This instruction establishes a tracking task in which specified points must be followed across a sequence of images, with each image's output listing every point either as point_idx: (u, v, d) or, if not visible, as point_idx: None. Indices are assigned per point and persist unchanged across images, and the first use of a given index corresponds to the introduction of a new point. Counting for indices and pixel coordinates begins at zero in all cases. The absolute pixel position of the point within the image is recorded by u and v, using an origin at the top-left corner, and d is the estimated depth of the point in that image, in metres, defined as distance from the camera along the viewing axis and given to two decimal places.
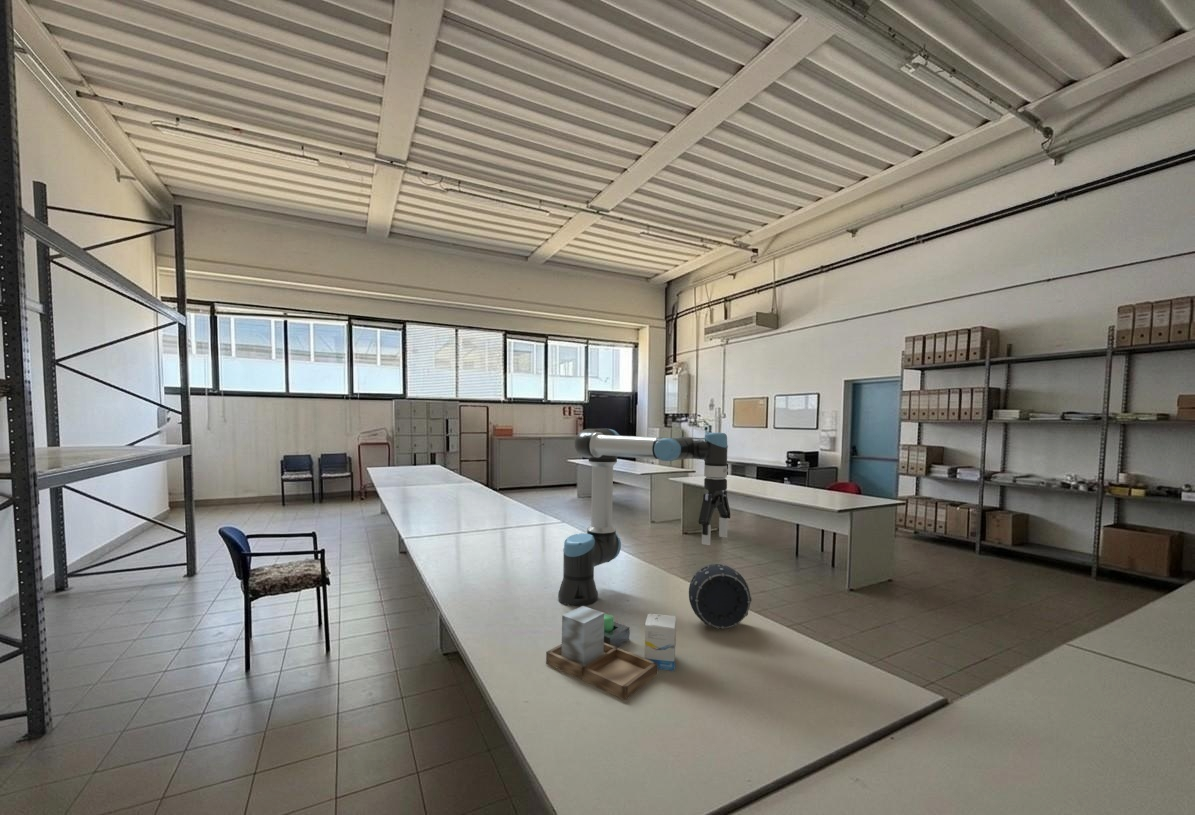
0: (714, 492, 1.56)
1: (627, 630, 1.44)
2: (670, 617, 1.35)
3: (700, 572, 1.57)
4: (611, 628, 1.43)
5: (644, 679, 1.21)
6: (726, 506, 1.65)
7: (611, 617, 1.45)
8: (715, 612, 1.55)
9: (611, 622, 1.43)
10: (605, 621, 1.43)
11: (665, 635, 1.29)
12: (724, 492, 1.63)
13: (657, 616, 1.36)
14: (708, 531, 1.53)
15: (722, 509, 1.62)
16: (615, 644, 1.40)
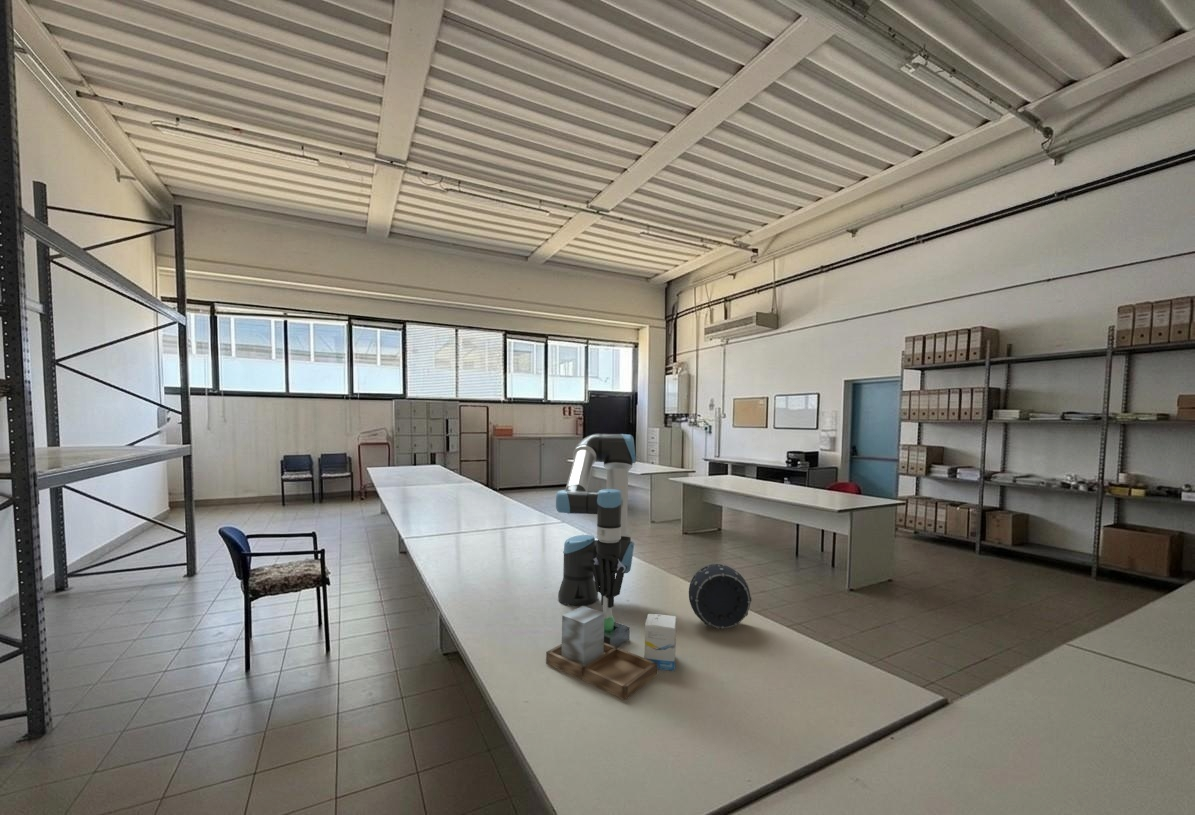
0: (596, 553, 1.47)
1: (627, 630, 1.44)
2: (670, 617, 1.35)
3: (700, 572, 1.57)
4: (611, 628, 1.43)
5: (644, 679, 1.21)
6: None
7: (611, 617, 1.45)
8: (715, 612, 1.55)
9: (611, 622, 1.43)
10: (605, 621, 1.43)
11: (665, 635, 1.29)
12: None
13: (657, 616, 1.36)
14: None
15: None
16: (615, 644, 1.40)
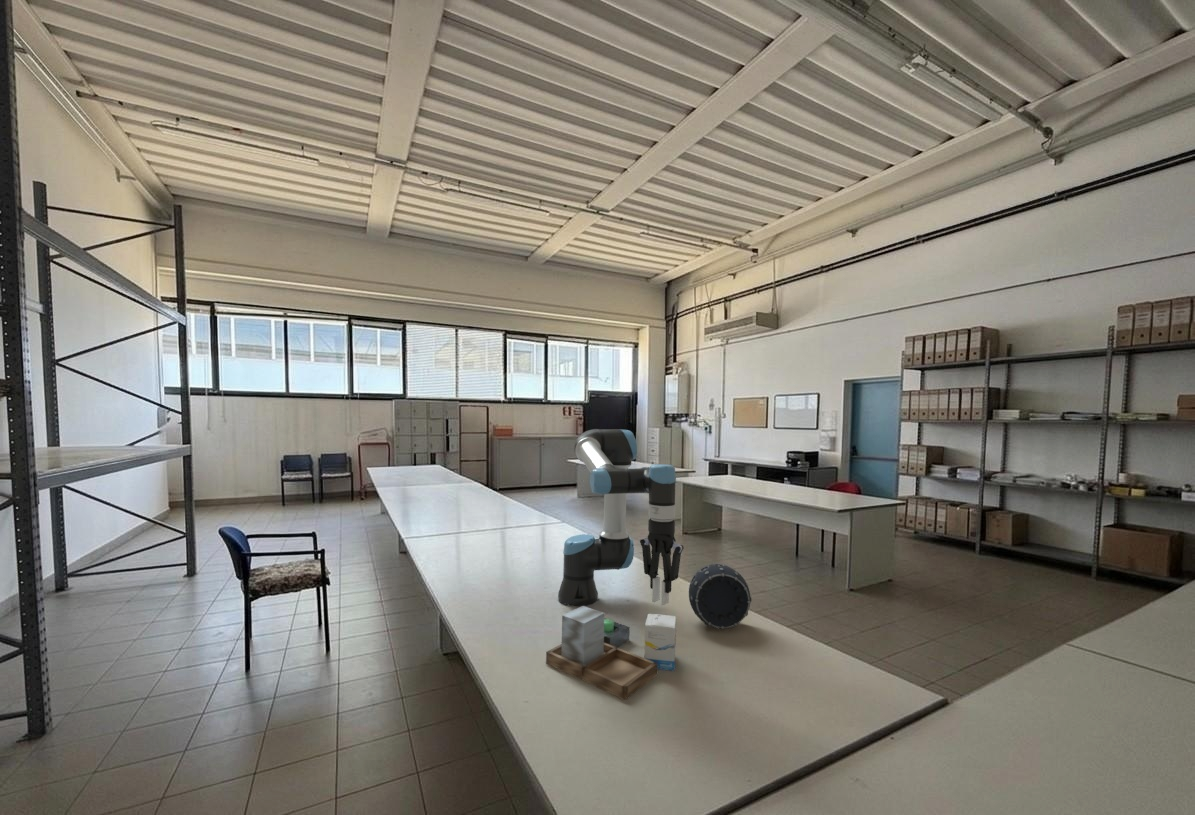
0: None
1: (627, 630, 1.44)
2: (670, 617, 1.35)
3: (700, 572, 1.57)
4: None
5: (644, 679, 1.21)
6: None
7: (611, 622, 1.45)
8: (715, 612, 1.55)
9: (611, 627, 1.43)
10: (605, 626, 1.43)
11: (665, 635, 1.29)
12: None
13: (657, 616, 1.36)
14: None
15: None
16: (615, 644, 1.40)
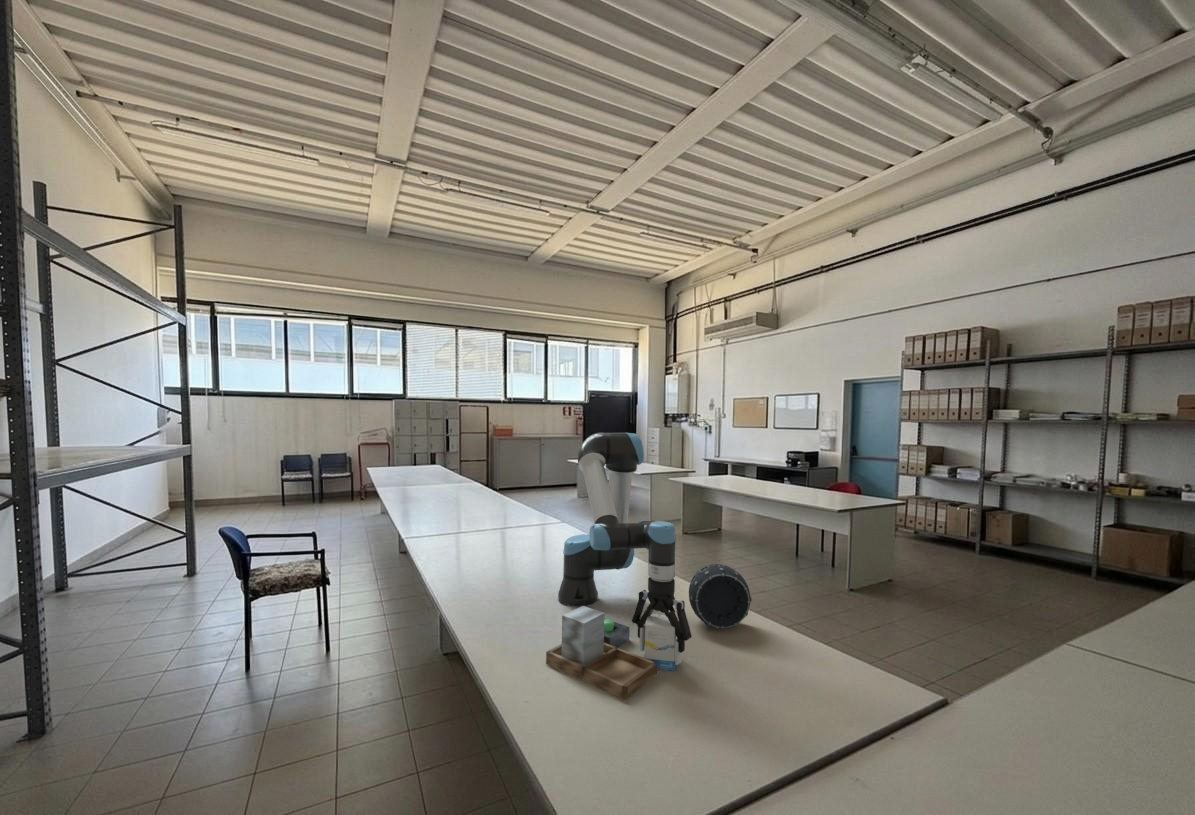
0: (649, 591, 1.34)
1: (627, 630, 1.44)
2: None
3: (700, 572, 1.57)
4: None
5: (644, 679, 1.21)
6: None
7: (611, 622, 1.45)
8: (715, 612, 1.55)
9: (611, 627, 1.43)
10: (605, 626, 1.43)
11: (665, 635, 1.29)
12: None
13: (657, 616, 1.35)
14: None
15: None
16: (615, 644, 1.40)
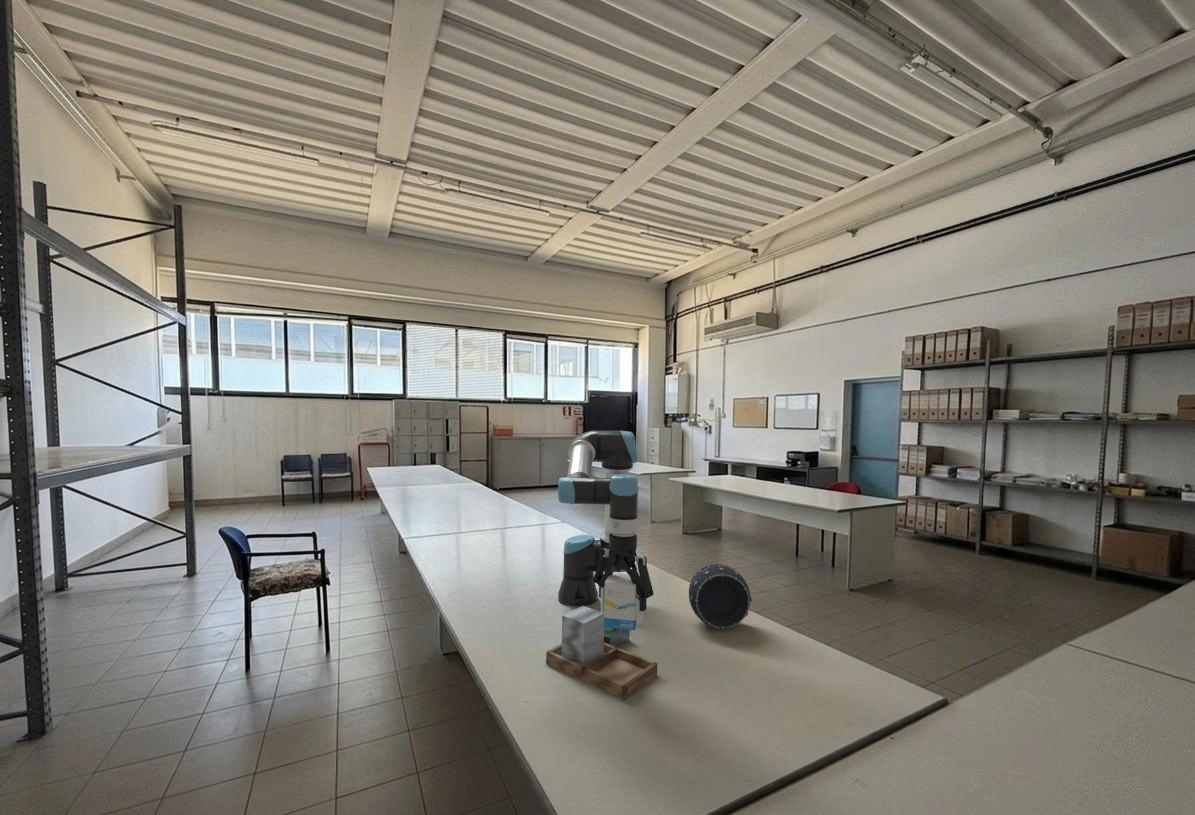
0: (611, 548, 1.26)
1: (627, 630, 1.44)
2: None
3: (700, 572, 1.57)
4: None
5: (644, 679, 1.21)
6: None
7: None
8: (715, 612, 1.55)
9: None
10: None
11: (625, 593, 1.21)
12: None
13: (619, 575, 1.28)
14: None
15: None
16: (615, 644, 1.40)
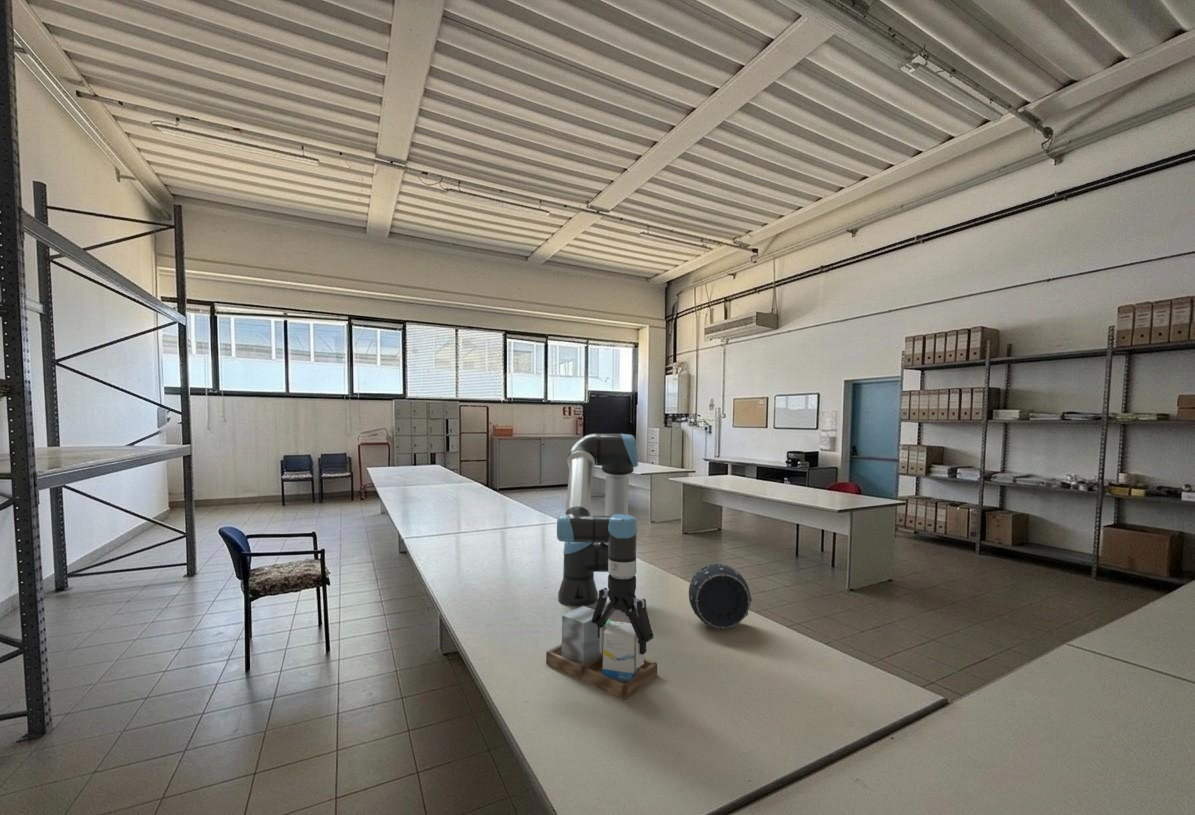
0: (610, 590, 1.26)
1: None
2: None
3: (700, 572, 1.57)
4: None
5: (644, 679, 1.21)
6: None
7: None
8: (715, 612, 1.55)
9: None
10: None
11: (624, 644, 1.20)
12: None
13: (619, 624, 1.27)
14: None
15: None
16: None
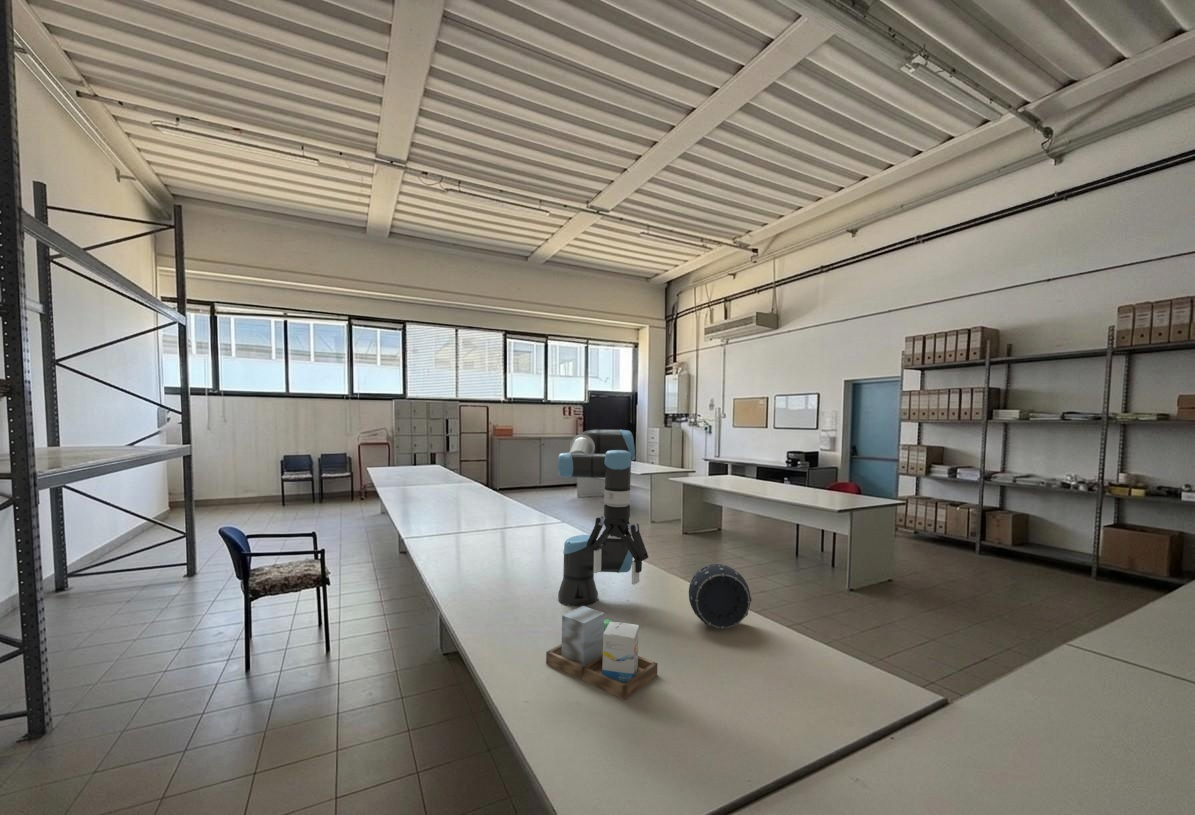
0: (606, 518, 1.36)
1: None
2: (632, 626, 1.27)
3: (700, 572, 1.57)
4: None
5: (644, 679, 1.21)
6: None
7: None
8: (715, 612, 1.55)
9: None
10: (605, 626, 1.43)
11: (624, 645, 1.20)
12: None
13: (618, 624, 1.27)
14: None
15: None
16: None
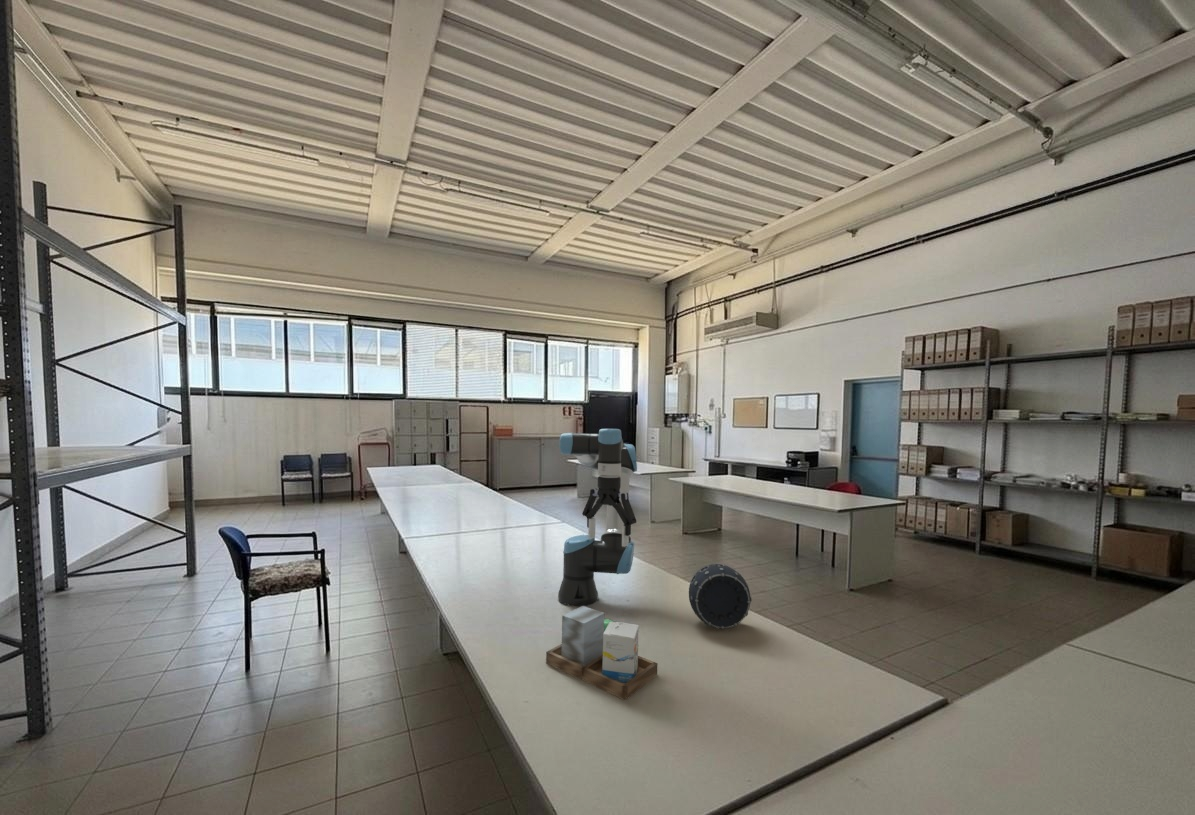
0: (599, 489, 1.53)
1: None
2: (632, 626, 1.27)
3: (700, 572, 1.57)
4: None
5: (644, 679, 1.21)
6: None
7: None
8: (715, 612, 1.55)
9: None
10: (605, 626, 1.43)
11: (624, 645, 1.20)
12: None
13: (618, 624, 1.27)
14: None
15: None
16: None
